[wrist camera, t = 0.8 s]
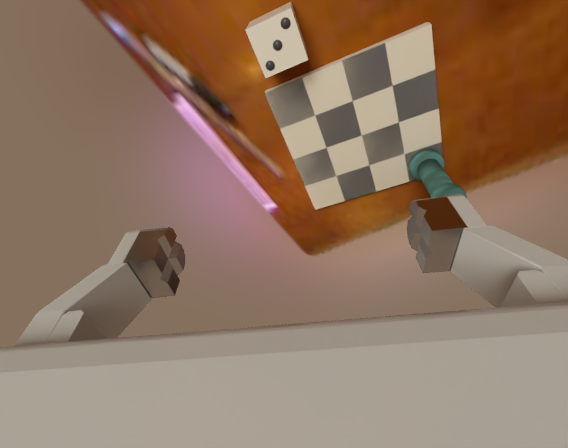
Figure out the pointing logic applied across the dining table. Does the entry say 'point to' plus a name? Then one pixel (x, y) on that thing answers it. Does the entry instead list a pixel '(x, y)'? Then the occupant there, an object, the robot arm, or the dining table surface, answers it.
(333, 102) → the board
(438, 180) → the pawn
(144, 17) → the dining table surface
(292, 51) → the die
